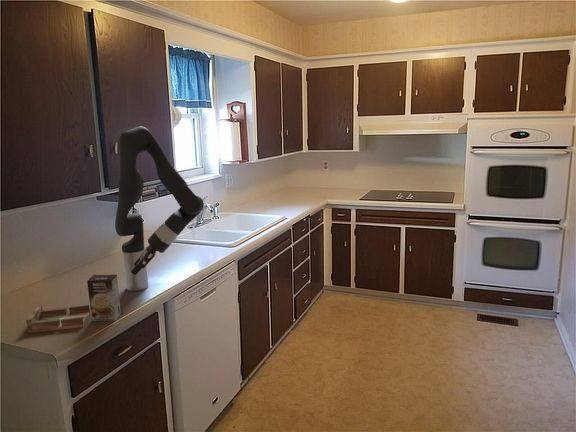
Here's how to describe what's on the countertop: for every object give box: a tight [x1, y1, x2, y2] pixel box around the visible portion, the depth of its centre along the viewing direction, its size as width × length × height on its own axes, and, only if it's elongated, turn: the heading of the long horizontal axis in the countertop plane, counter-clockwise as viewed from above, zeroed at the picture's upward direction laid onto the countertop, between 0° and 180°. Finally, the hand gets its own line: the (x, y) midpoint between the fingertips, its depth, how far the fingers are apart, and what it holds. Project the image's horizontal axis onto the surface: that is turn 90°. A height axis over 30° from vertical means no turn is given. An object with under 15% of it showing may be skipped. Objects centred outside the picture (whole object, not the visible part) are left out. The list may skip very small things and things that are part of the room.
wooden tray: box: [25, 304, 91, 334], centre depth 162 cm, size 12×18×5 cm, turn 102°
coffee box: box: [86, 274, 122, 322], centre depth 164 cm, size 9×6×16 cm
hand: (134, 269), depth 164 cm, fingers open, 8 cm apart
